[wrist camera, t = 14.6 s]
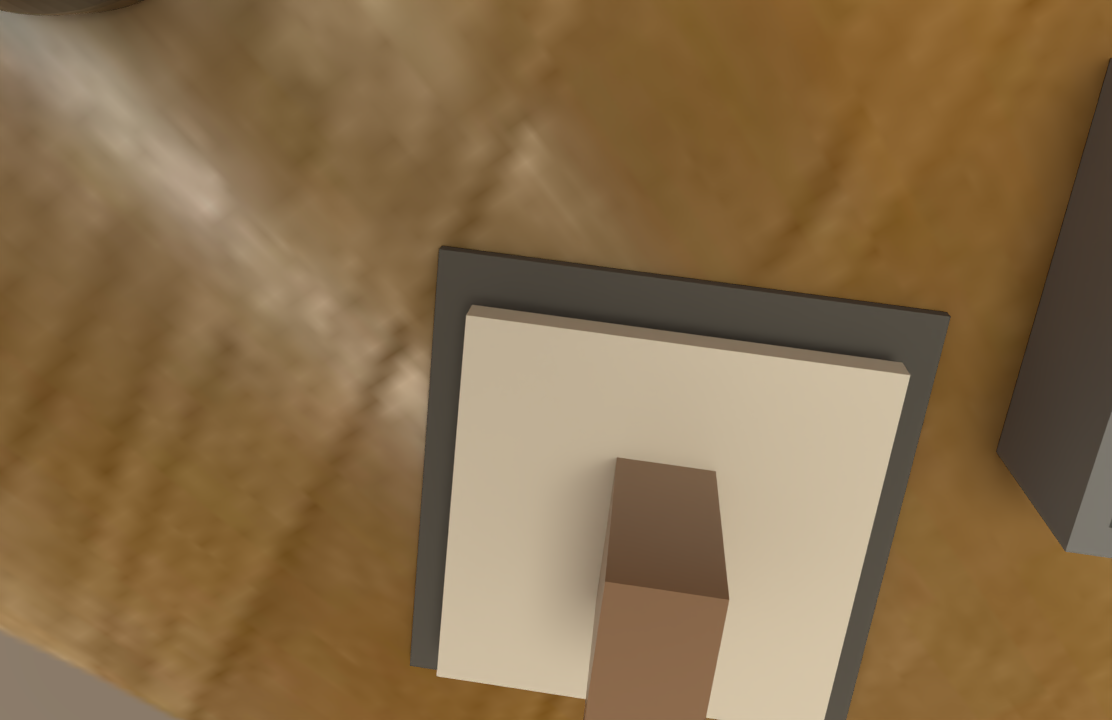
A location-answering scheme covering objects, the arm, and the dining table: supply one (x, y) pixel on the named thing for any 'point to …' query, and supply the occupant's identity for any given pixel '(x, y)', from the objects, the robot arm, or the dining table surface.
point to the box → (1072, 365)
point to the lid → (659, 516)
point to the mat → (676, 310)
